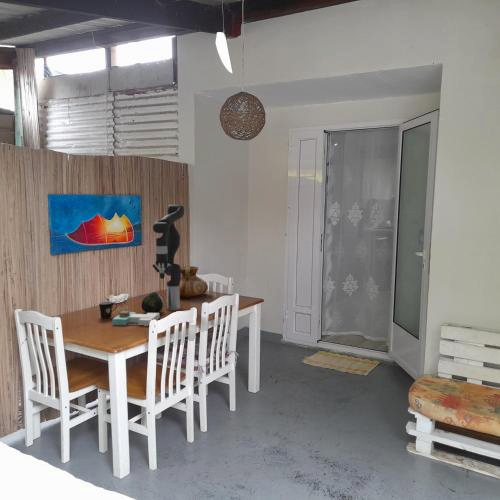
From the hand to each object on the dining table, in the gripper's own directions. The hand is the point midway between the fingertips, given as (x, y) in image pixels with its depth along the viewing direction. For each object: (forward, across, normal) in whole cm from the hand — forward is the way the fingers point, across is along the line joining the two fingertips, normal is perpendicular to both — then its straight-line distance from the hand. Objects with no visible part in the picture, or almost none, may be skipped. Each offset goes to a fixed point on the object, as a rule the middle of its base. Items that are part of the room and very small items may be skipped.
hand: (162, 278), depth 299 cm
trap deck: (+27, +14, +10) cm, 32 cm away
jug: (+28, -1, -71) cm, 76 cm away
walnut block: (+23, +22, +11) cm, 34 cm away
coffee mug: (+27, +37, +2) cm, 46 cm away
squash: (+27, +12, -14) cm, 33 cm away
